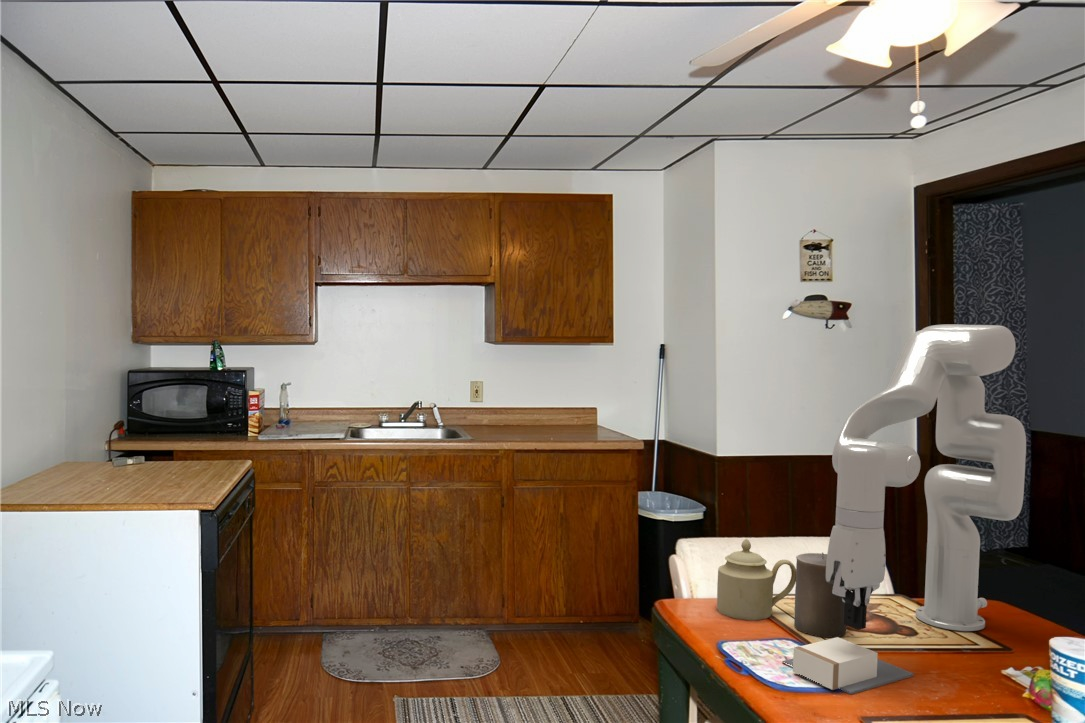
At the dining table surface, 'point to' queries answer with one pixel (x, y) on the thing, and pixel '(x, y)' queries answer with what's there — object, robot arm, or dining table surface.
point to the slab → (835, 662)
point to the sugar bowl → (749, 585)
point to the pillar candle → (817, 599)
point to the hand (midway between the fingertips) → (854, 626)
